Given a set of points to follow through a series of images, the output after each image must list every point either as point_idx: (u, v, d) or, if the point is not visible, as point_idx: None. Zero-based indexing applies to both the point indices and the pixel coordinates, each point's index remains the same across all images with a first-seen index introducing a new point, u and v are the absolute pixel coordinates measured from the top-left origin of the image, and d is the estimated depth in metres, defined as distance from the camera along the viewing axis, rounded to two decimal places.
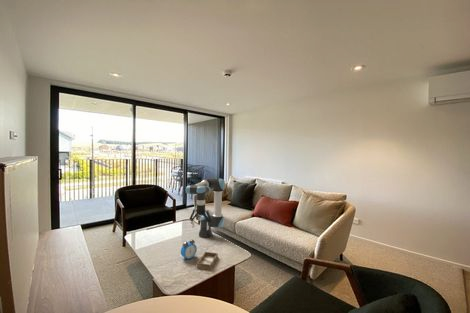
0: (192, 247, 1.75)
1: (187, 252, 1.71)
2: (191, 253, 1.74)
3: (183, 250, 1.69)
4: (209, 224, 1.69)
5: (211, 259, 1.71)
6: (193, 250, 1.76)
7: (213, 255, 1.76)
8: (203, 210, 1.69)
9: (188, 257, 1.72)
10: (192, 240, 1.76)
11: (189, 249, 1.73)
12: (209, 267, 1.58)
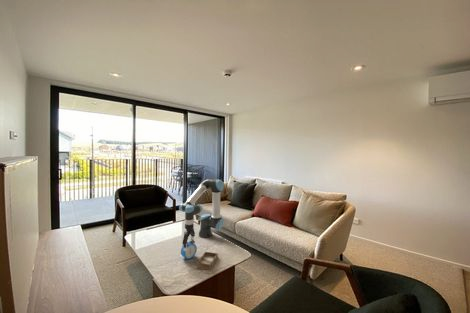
0: (192, 247, 1.75)
1: (187, 252, 1.72)
2: (191, 253, 1.74)
3: (183, 250, 1.69)
4: (184, 246, 1.66)
5: (211, 259, 1.71)
6: (193, 250, 1.76)
7: (213, 255, 1.76)
8: None
9: (188, 257, 1.72)
10: (192, 240, 1.76)
11: (189, 249, 1.73)
12: (209, 267, 1.58)
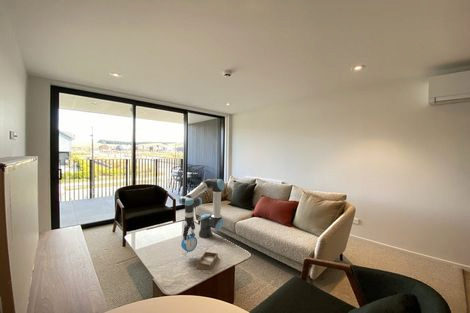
0: (193, 240, 1.75)
1: (188, 245, 1.72)
2: (192, 246, 1.75)
3: (184, 243, 1.70)
4: (184, 239, 1.67)
5: (211, 259, 1.71)
6: (194, 243, 1.76)
7: (213, 255, 1.76)
8: None
9: (189, 250, 1.72)
10: (192, 233, 1.77)
11: (190, 242, 1.73)
12: (209, 267, 1.58)
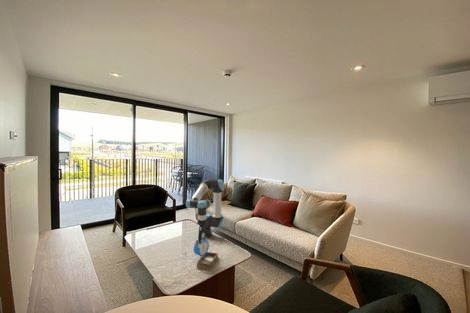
0: (205, 243, 1.70)
1: (201, 249, 1.66)
2: (204, 250, 1.69)
3: (197, 247, 1.63)
4: (199, 242, 1.61)
5: (211, 259, 1.71)
6: (206, 246, 1.71)
7: (213, 255, 1.76)
8: (199, 226, 1.66)
9: (202, 254, 1.66)
10: (204, 236, 1.71)
11: (202, 246, 1.67)
12: (209, 267, 1.58)
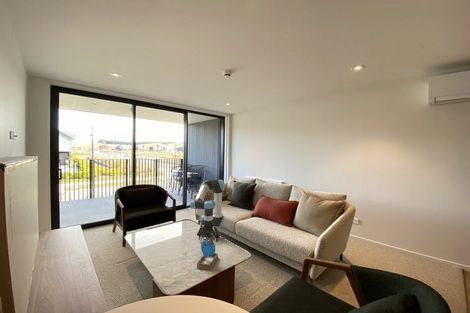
0: None
1: None
2: None
3: (214, 247, 1.65)
4: (217, 240, 1.66)
5: (211, 259, 1.71)
6: None
7: (213, 255, 1.76)
8: (211, 226, 1.66)
9: None
10: (206, 237, 1.71)
11: None
12: (209, 267, 1.58)
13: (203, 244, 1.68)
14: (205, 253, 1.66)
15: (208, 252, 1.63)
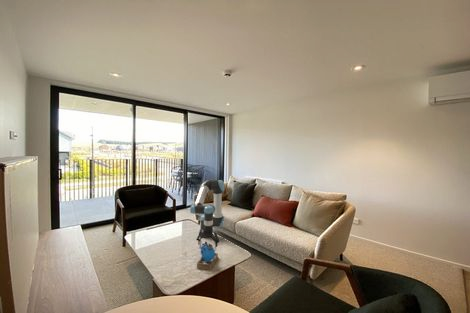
0: None
1: None
2: None
3: (213, 251, 1.64)
4: None
5: None
6: None
7: None
8: (211, 231, 1.66)
9: None
10: None
11: None
12: (209, 267, 1.58)
13: (202, 249, 1.67)
14: (205, 258, 1.66)
15: (208, 257, 1.63)
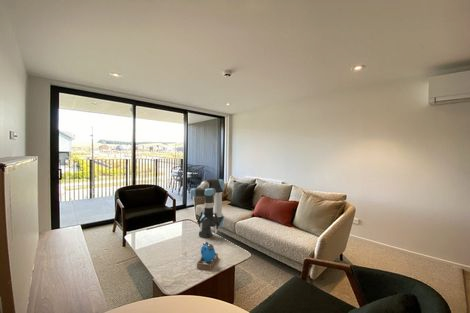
0: None
1: None
2: None
3: (214, 252, 1.65)
4: (217, 227, 1.66)
5: None
6: None
7: None
8: (211, 213, 1.65)
9: None
10: None
11: None
12: (209, 267, 1.58)
13: (203, 249, 1.68)
14: (205, 258, 1.66)
15: (208, 257, 1.63)
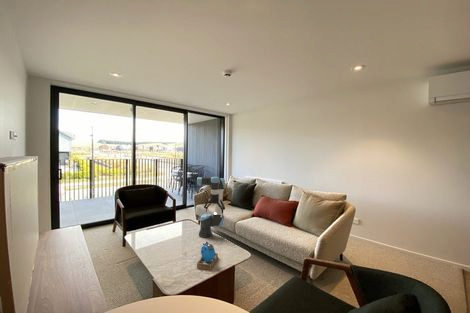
0: None
1: None
2: None
3: (214, 252, 1.65)
4: None
5: None
6: None
7: None
8: (217, 199, 1.81)
9: None
10: None
11: None
12: (209, 267, 1.58)
13: (203, 249, 1.68)
14: (205, 258, 1.66)
15: (208, 257, 1.63)
